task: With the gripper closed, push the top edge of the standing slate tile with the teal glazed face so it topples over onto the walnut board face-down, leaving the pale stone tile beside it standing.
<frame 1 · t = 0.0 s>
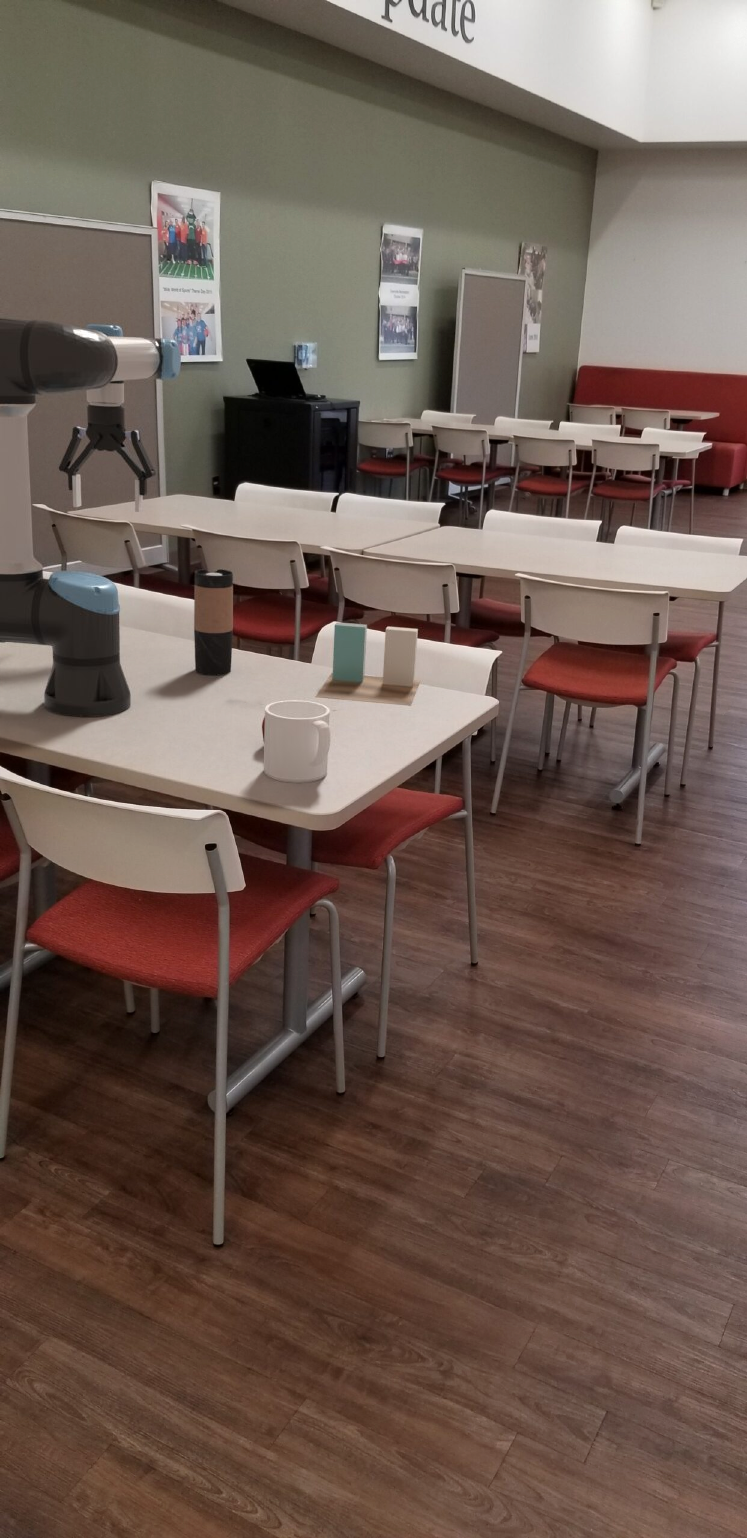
hand: (108, 508, 253), 28 cm above the table, fingers open, 13 cm apart
board: (369, 694, 231), on the table
mug: (300, 775, 187), on the table
tile plain: (398, 683, 235), point 1 cm above the table, touching board
travel mug: (213, 671, 241), on the table
tile teal: (348, 679, 236), point 1 cm above the table, touching board
fruit: (284, 748, 198), on the table
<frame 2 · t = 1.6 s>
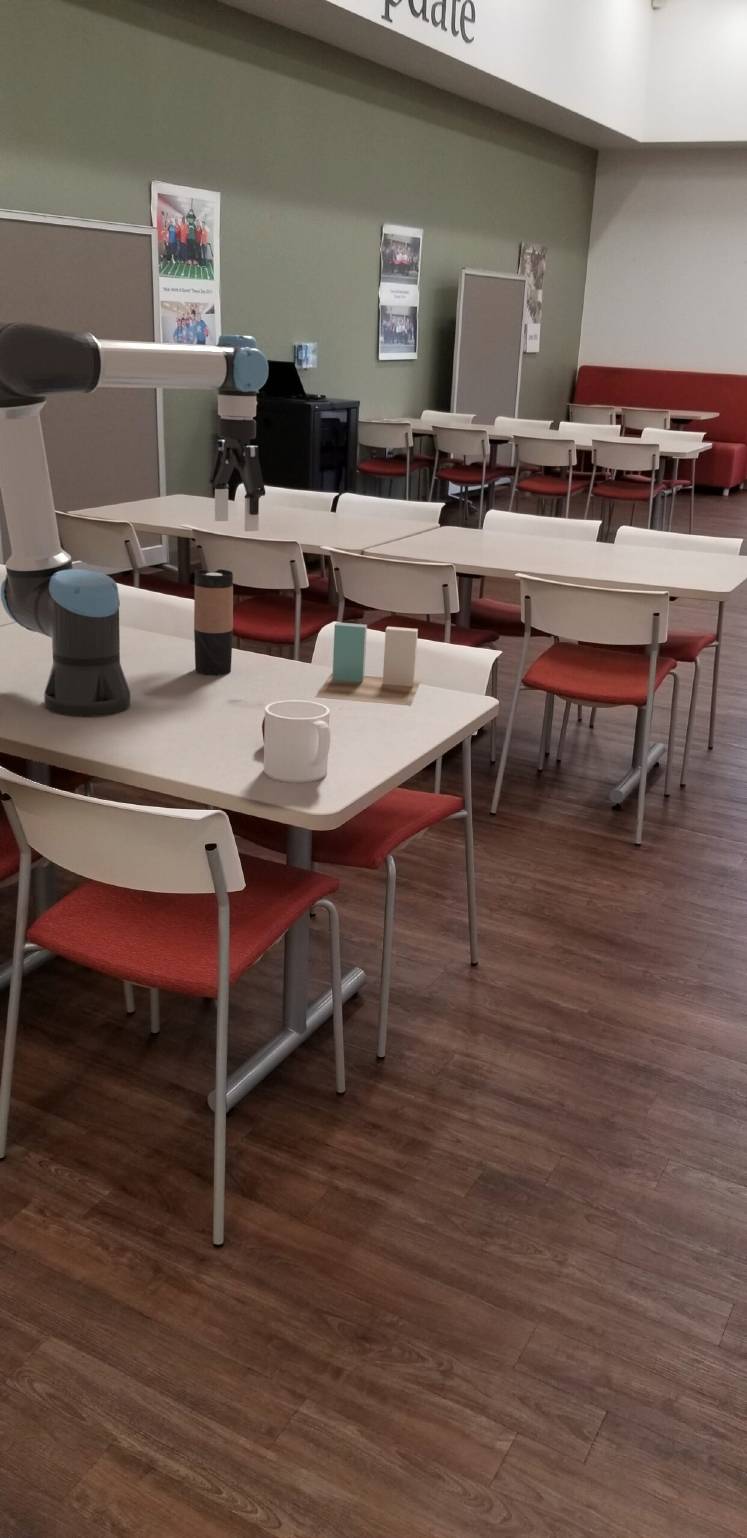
hand: (236, 525, 244), 27 cm above the table, fingers open, 13 cm apart
nothing on the table moved.
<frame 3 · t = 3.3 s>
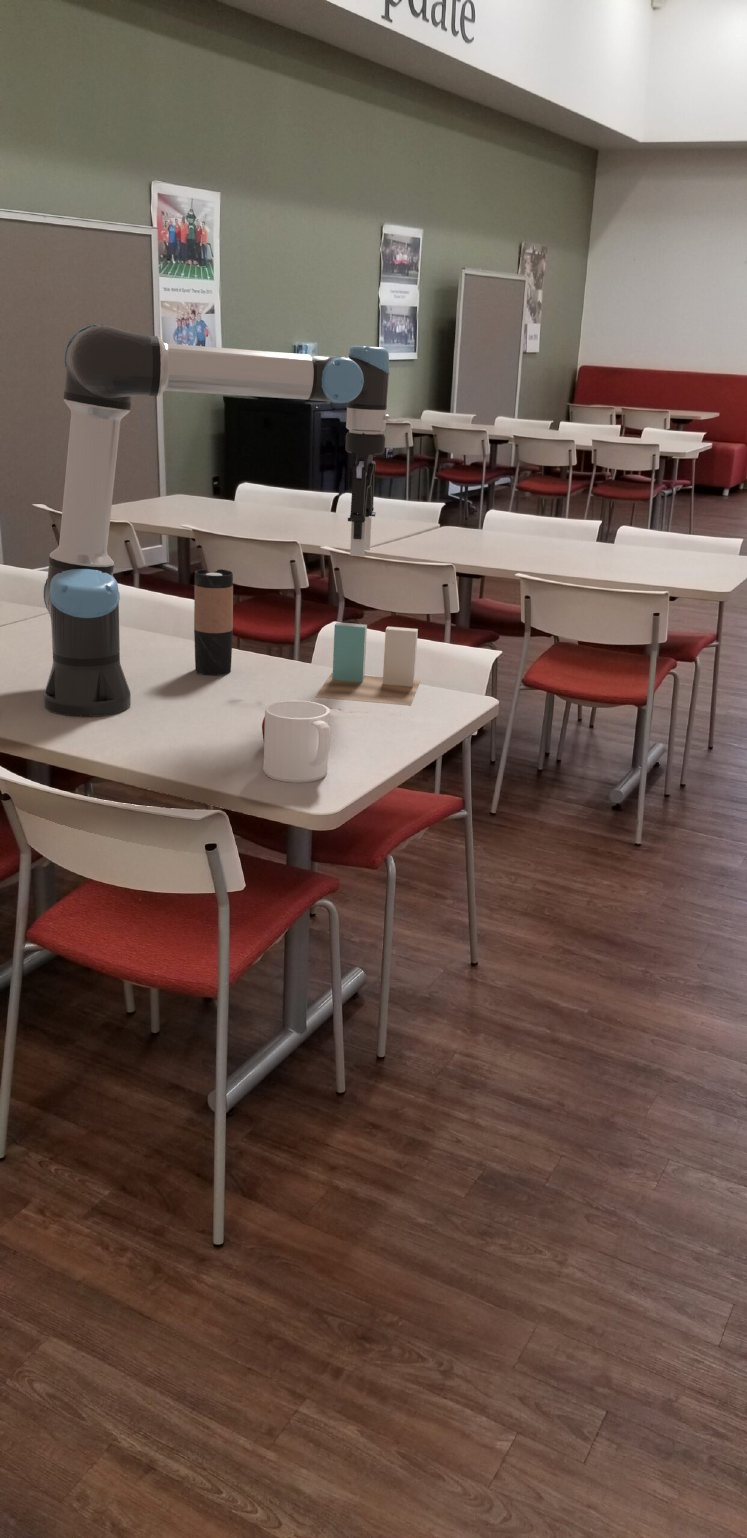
hand: (360, 552, 235), 25 cm above the table, fingers open, 7 cm apart
nothing on the table moved.
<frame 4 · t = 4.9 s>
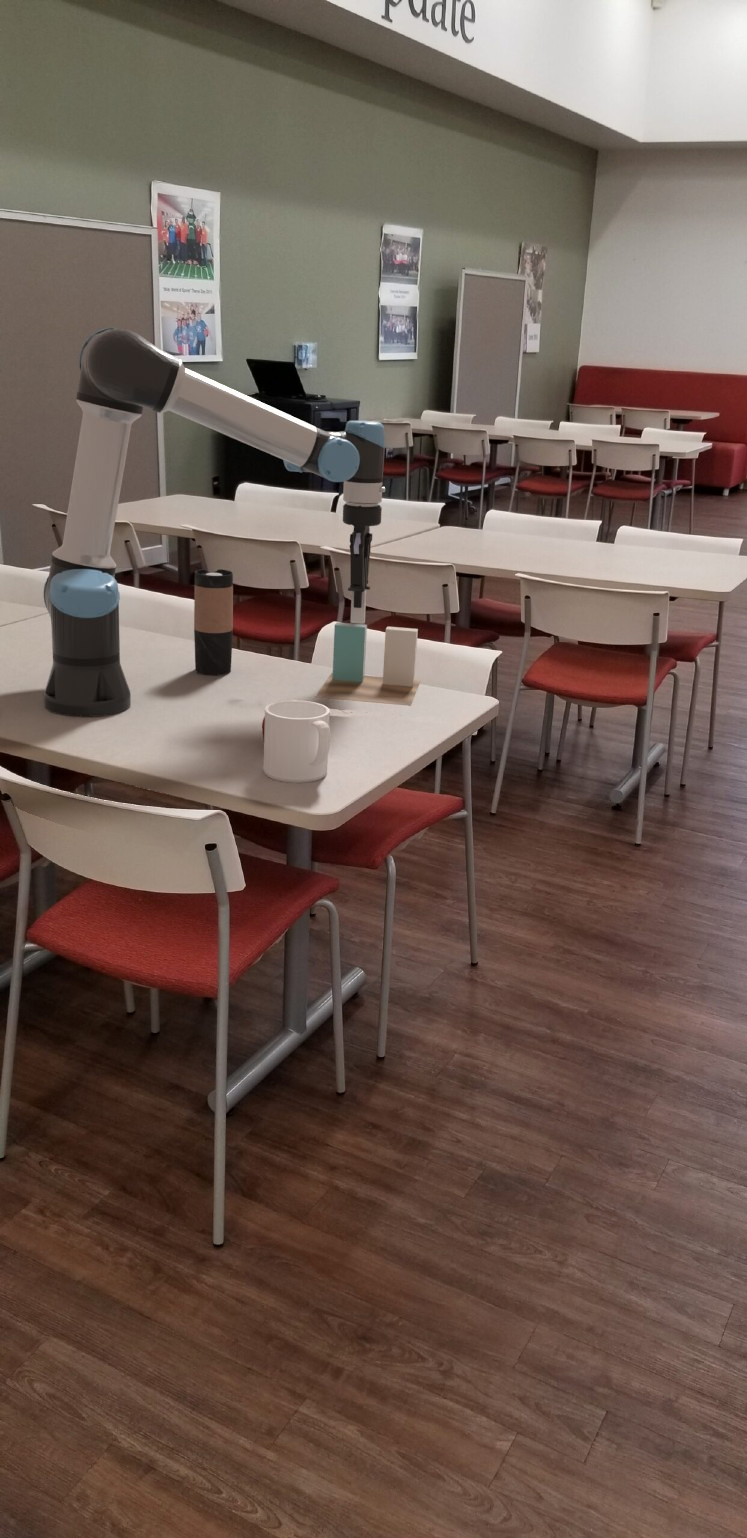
hand: (357, 622, 240), 11 cm above the table, fingers closed
nothing on the table moved.
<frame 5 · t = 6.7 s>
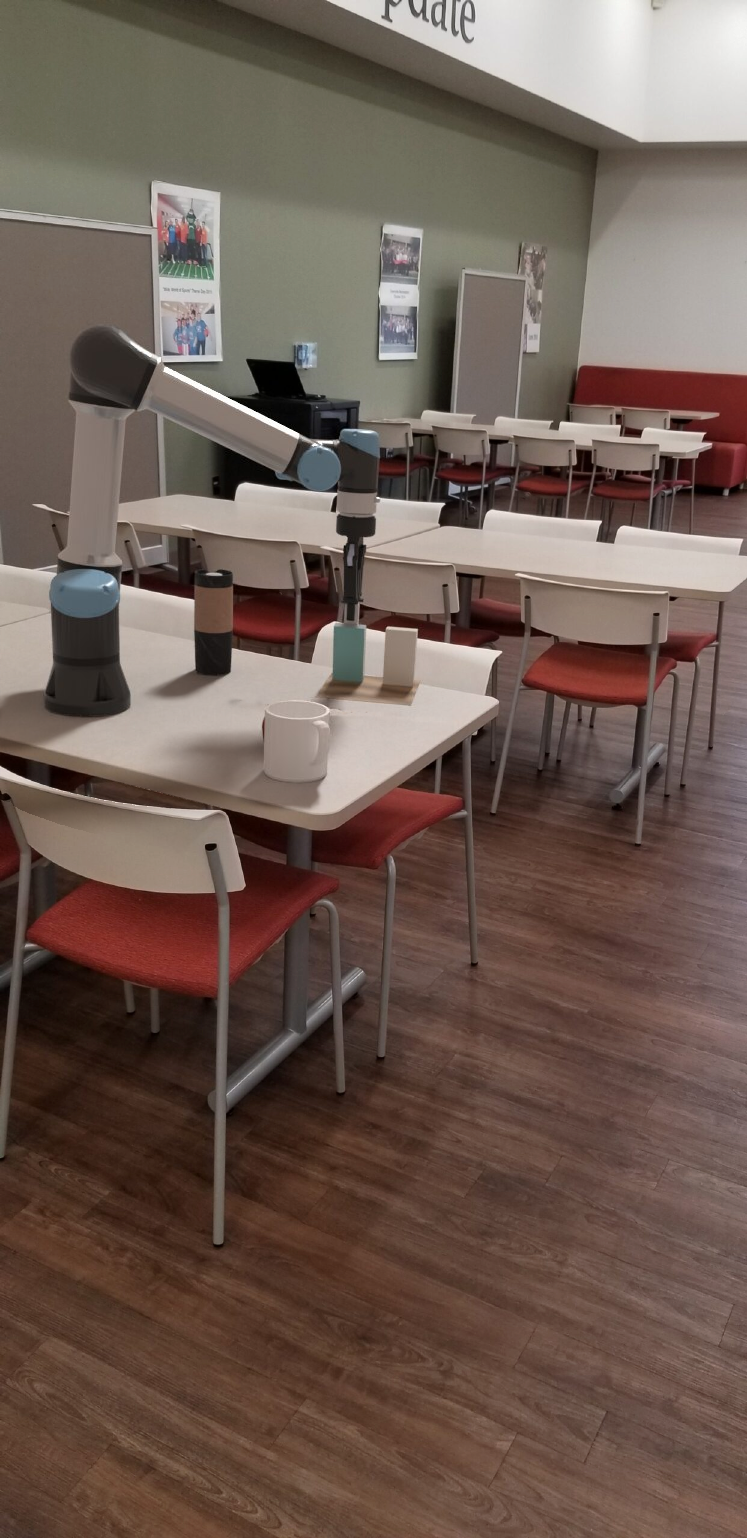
hand: (350, 635, 234), 10 cm above the table, fingers closed
tile teal: (348, 678, 236), point 1 cm above the table, tilted 5°, touching board, gripper
everything else where it was.
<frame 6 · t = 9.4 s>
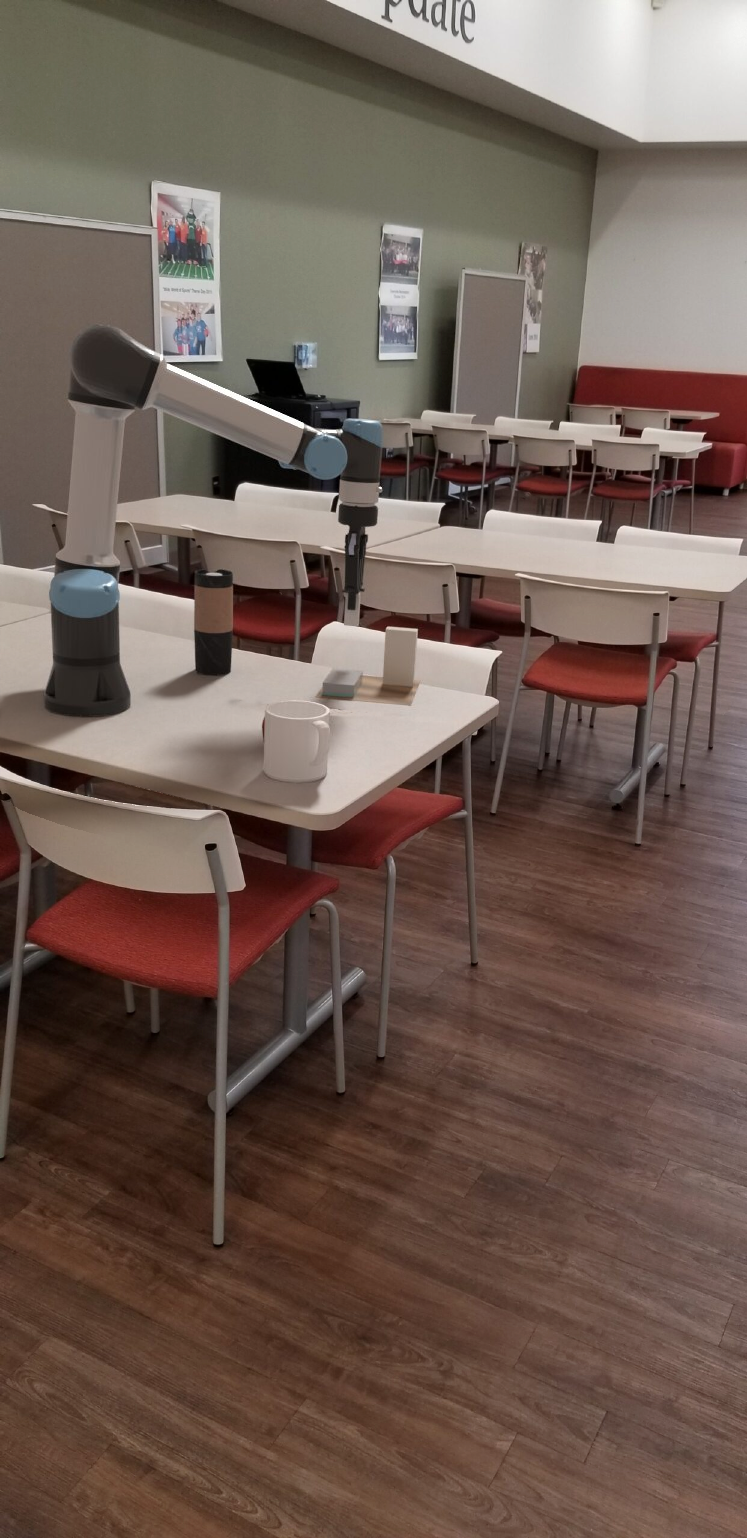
hand: (351, 624, 235), 12 cm above the table, fingers closed
tile teal: (347, 675, 234), point 2 cm above the table, tilted 90°, touching board
everything else where it was.
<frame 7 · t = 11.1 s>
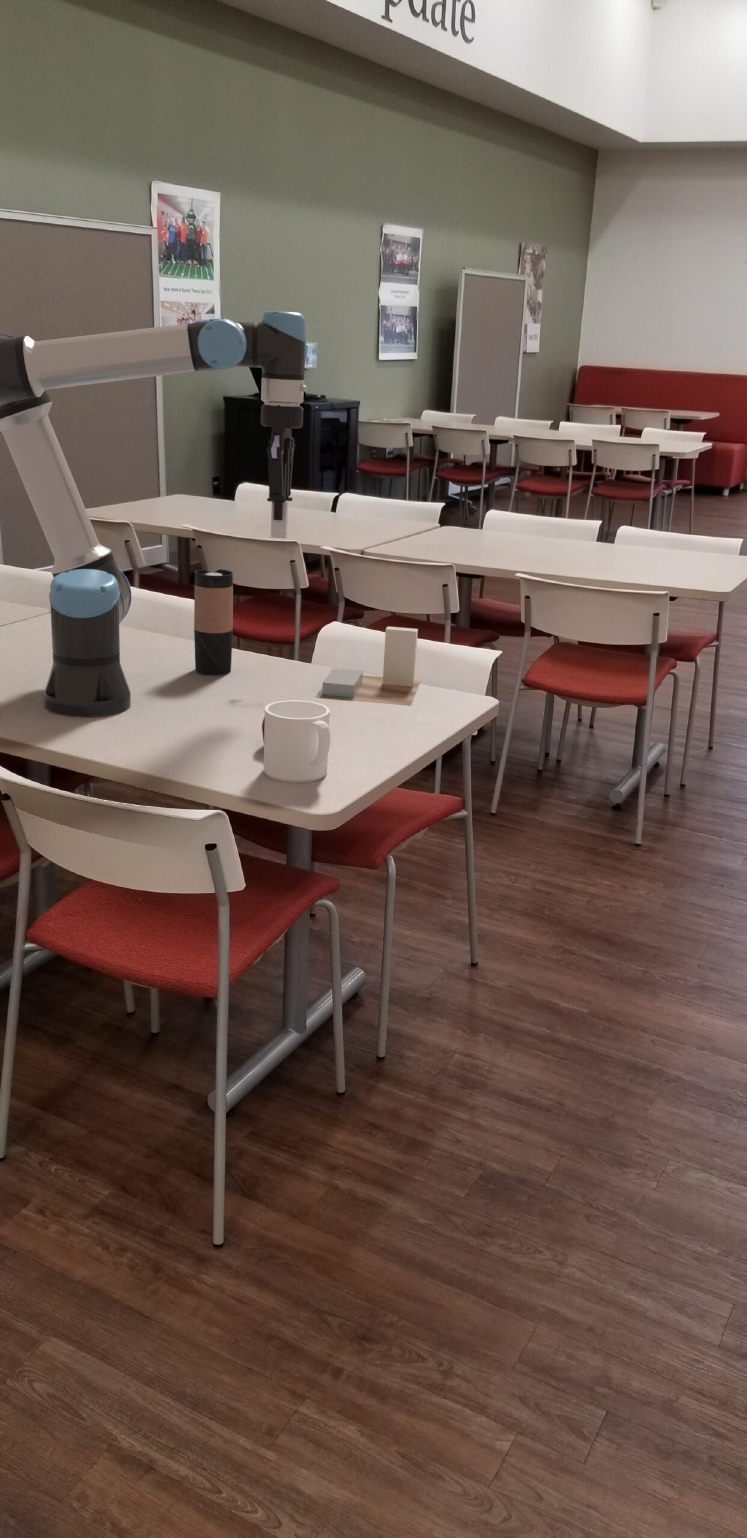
hand: (278, 537, 220), 29 cm above the table, fingers closed
nothing on the table moved.
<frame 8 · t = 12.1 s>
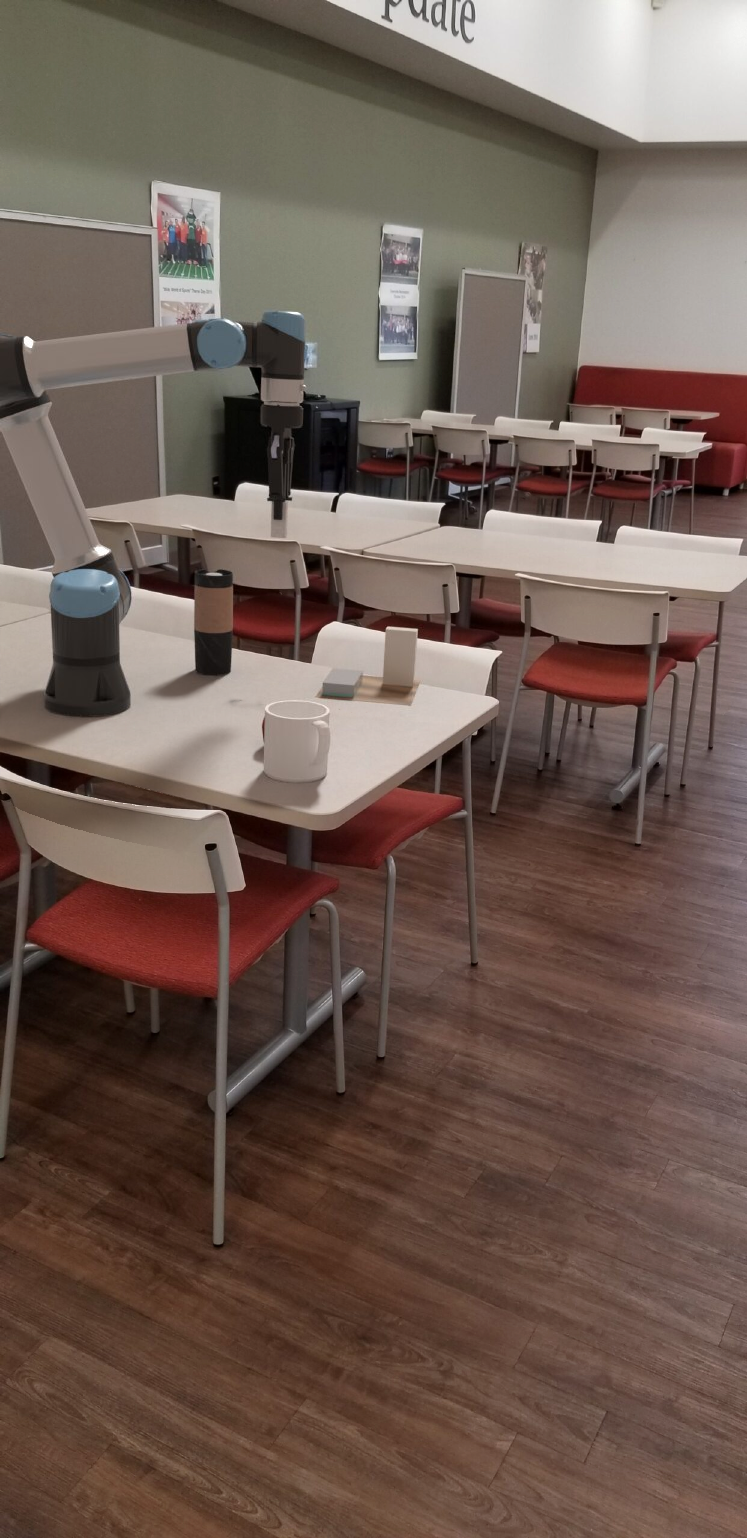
hand: (278, 536, 220), 29 cm above the table, fingers closed
nothing on the table moved.
at the end: tile teal tilted 90°; tile teal inside the target area (4.6 cm from its centre), point 2.4 cm above the table; tile plain tilted 0° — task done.
